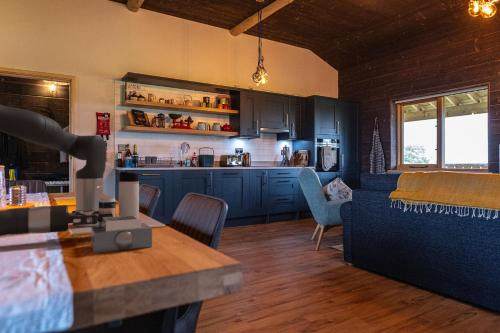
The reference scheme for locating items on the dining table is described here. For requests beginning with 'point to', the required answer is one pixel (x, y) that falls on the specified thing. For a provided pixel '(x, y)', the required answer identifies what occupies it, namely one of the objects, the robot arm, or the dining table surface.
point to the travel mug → (128, 194)
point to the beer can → (107, 207)
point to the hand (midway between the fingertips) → (110, 215)
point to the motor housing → (120, 234)
